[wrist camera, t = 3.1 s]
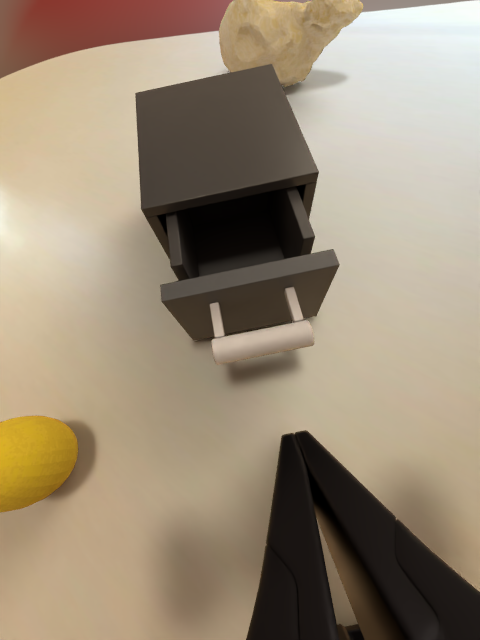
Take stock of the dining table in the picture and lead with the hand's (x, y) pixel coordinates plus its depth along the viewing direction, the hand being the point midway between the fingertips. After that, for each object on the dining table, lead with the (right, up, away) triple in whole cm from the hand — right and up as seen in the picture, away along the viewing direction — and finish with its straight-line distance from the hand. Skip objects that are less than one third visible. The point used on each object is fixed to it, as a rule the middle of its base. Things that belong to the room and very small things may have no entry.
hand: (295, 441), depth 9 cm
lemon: (-16, -7, +13) cm, 21 cm away
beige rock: (+5, +39, +29) cm, 49 cm away
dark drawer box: (-3, +15, +20) cm, 25 cm away
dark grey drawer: (-1, +7, +16) cm, 17 cm away
